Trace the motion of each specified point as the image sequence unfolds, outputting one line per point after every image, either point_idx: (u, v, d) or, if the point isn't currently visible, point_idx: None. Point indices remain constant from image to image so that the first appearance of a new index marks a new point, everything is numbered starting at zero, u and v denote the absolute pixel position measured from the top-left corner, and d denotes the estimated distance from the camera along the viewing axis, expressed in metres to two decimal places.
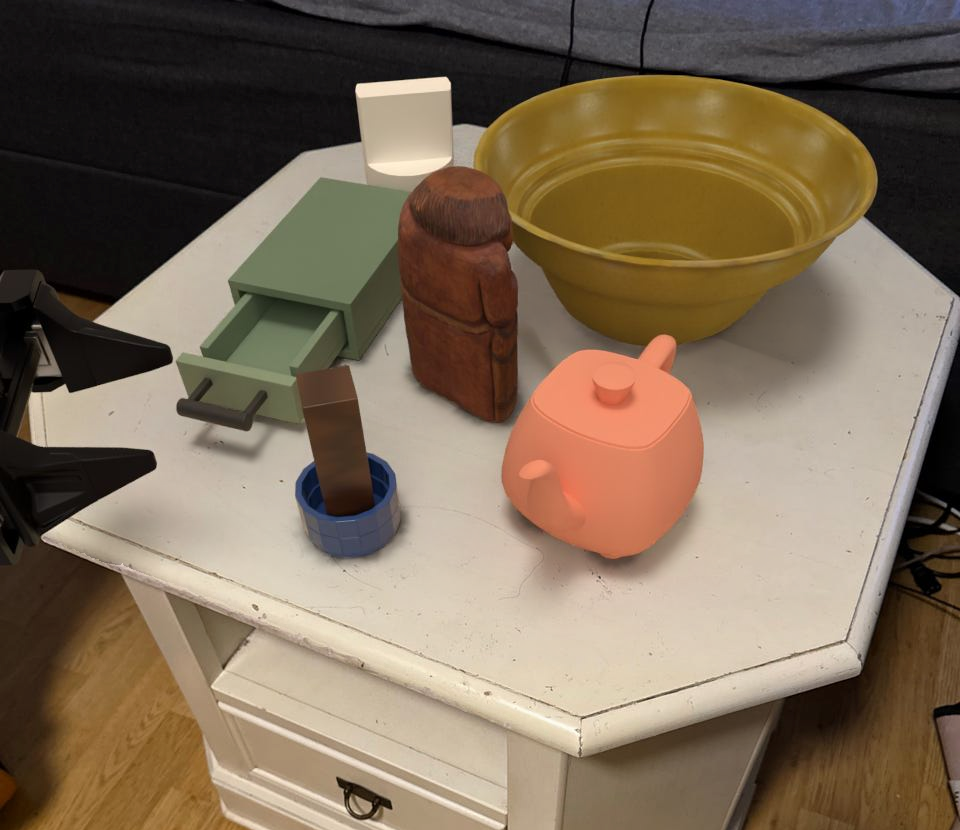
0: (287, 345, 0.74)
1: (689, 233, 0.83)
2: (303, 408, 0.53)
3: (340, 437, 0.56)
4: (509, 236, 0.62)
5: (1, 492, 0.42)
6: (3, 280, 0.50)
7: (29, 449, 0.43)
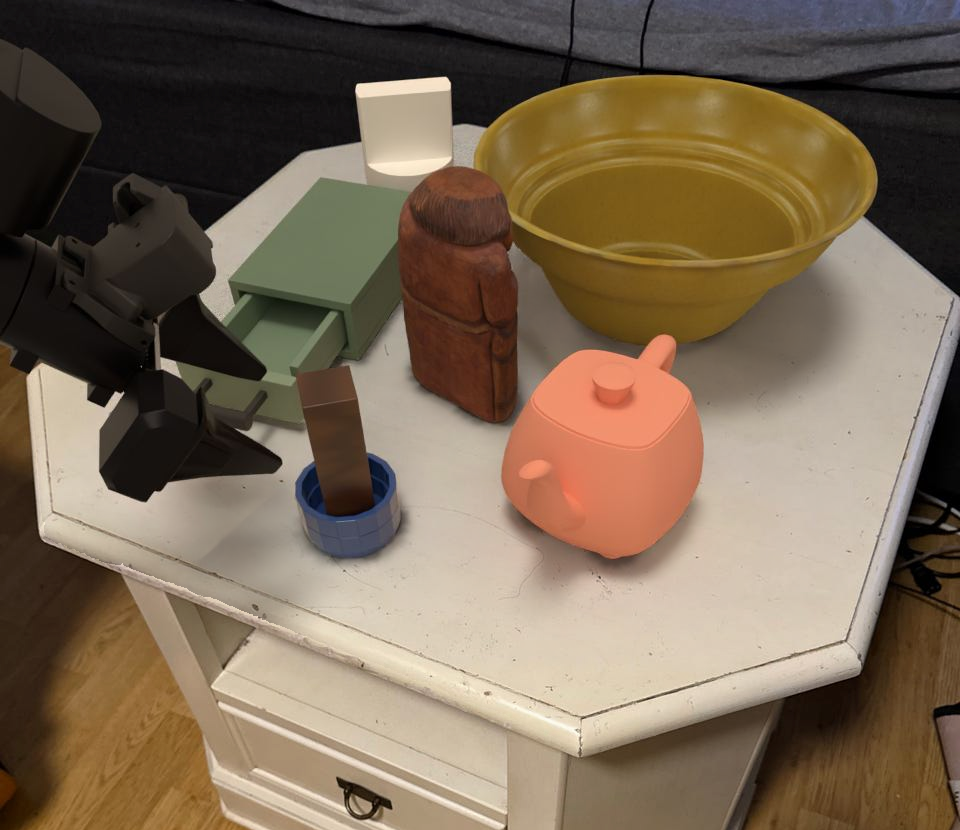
0: (287, 345, 0.74)
1: (689, 233, 0.83)
2: (303, 408, 0.53)
3: (340, 437, 0.56)
4: (509, 236, 0.62)
5: (194, 444, 0.46)
6: None
7: (212, 416, 0.48)
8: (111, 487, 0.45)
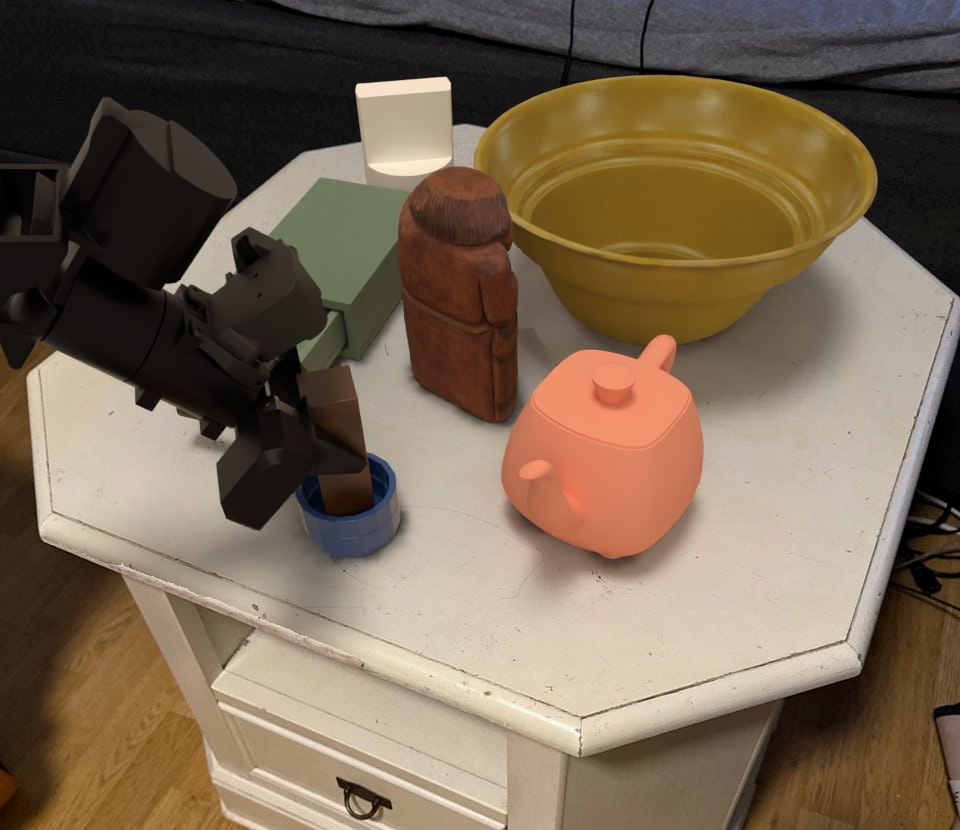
0: None
1: (689, 233, 0.83)
2: None
3: (339, 437, 0.56)
4: (509, 236, 0.62)
5: None
6: None
7: (312, 421, 0.53)
8: (230, 517, 0.49)
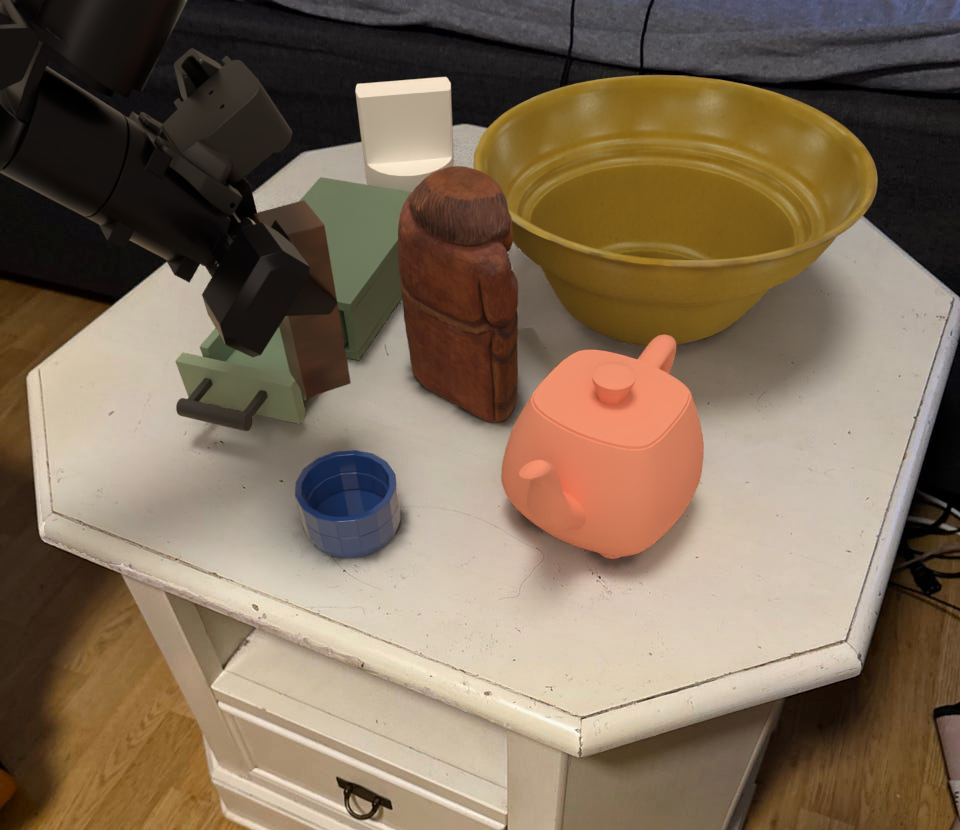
0: None
1: (689, 233, 0.83)
2: None
3: (309, 273, 0.55)
4: (509, 236, 0.62)
5: None
6: None
7: None
8: (231, 341, 0.48)
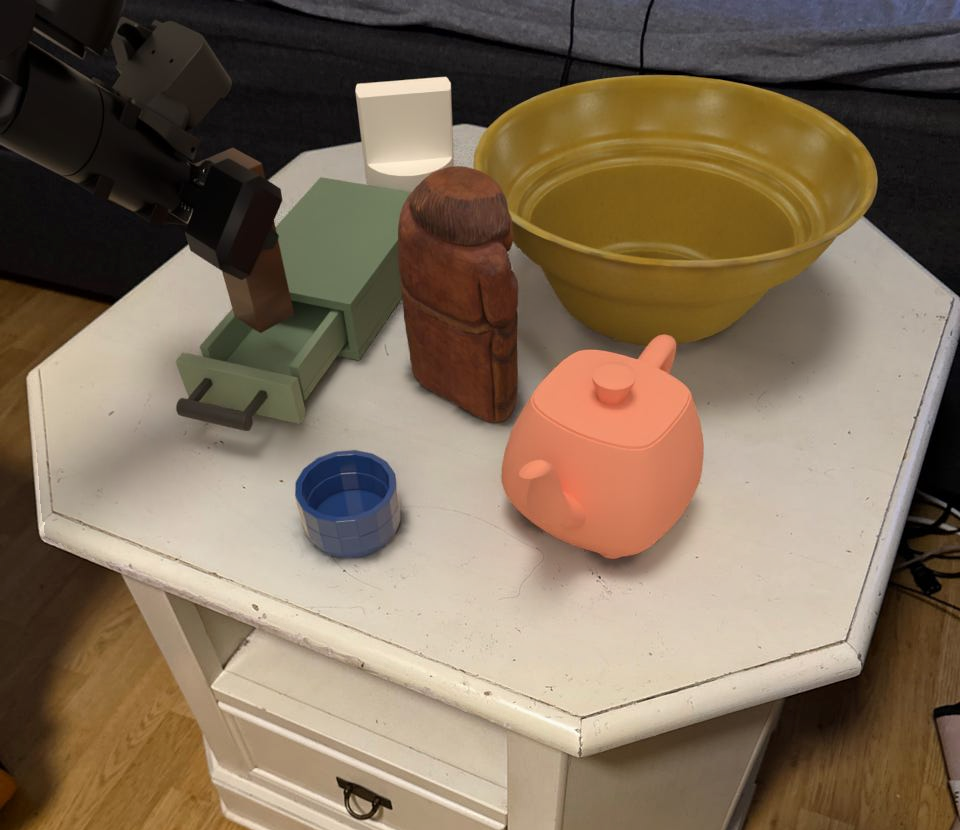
0: (287, 345, 0.74)
1: (689, 233, 0.83)
2: None
3: None
4: (509, 236, 0.62)
5: None
6: None
7: None
8: (225, 264, 0.54)
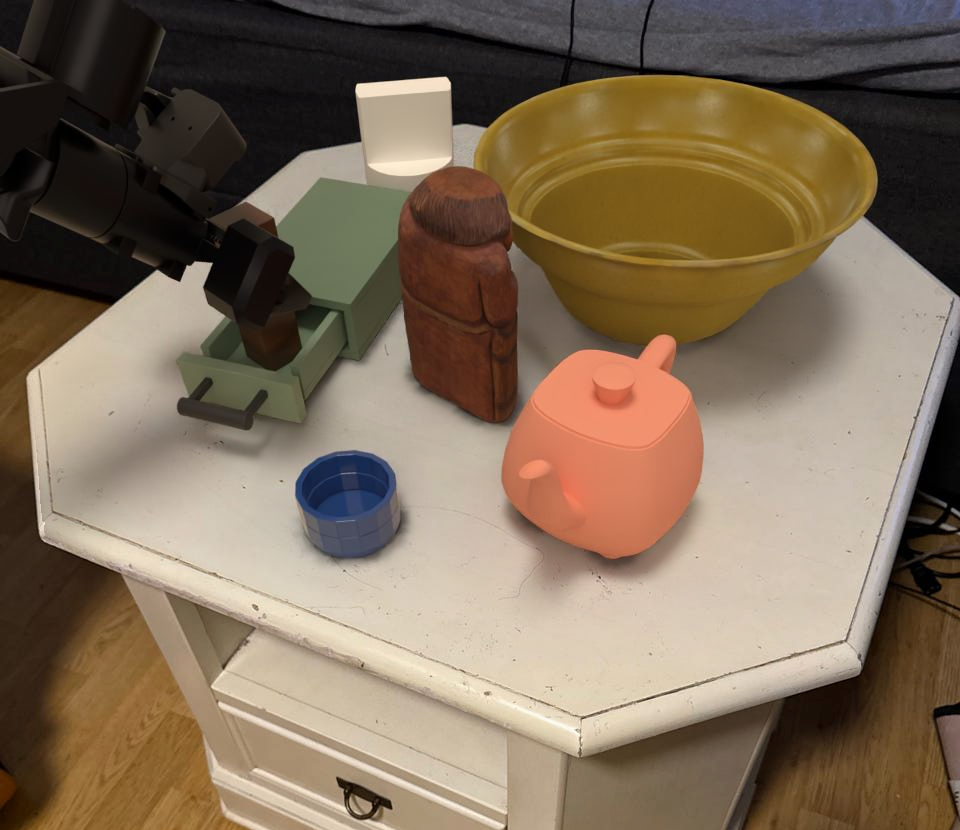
0: None
1: (689, 233, 0.83)
2: None
3: None
4: (509, 236, 0.62)
5: None
6: None
7: None
8: (241, 319, 0.58)
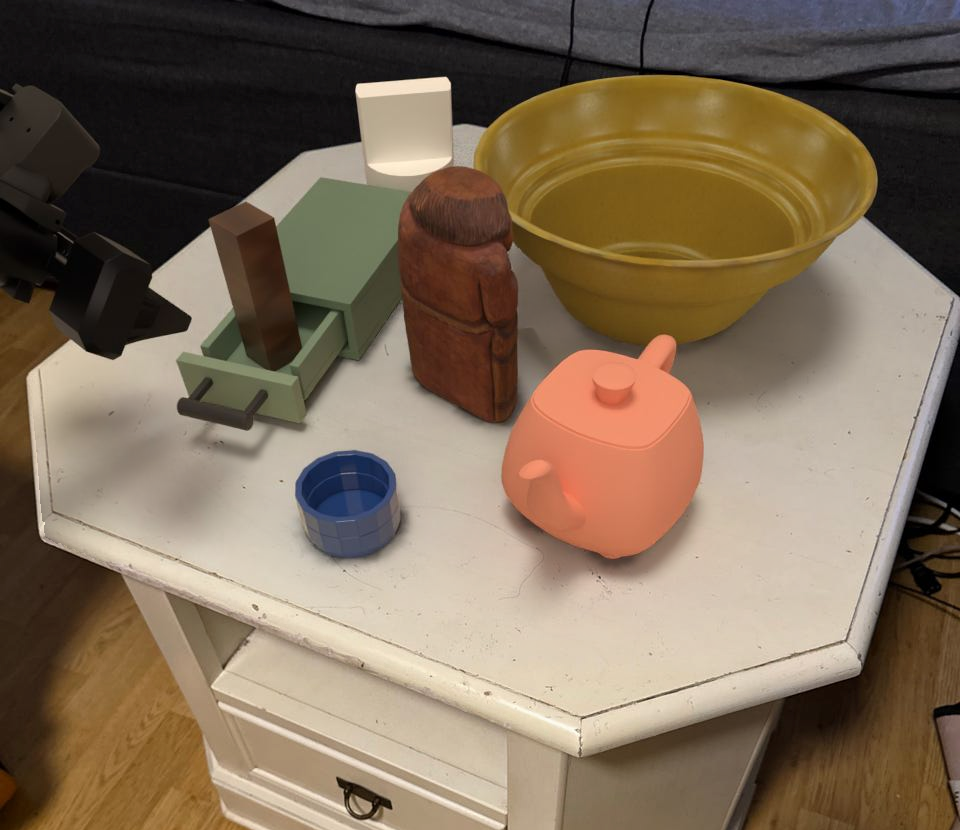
0: None
1: (689, 233, 0.83)
2: (237, 236, 0.62)
3: (266, 261, 0.65)
4: (509, 236, 0.62)
5: None
6: None
7: None
8: (91, 346, 0.51)
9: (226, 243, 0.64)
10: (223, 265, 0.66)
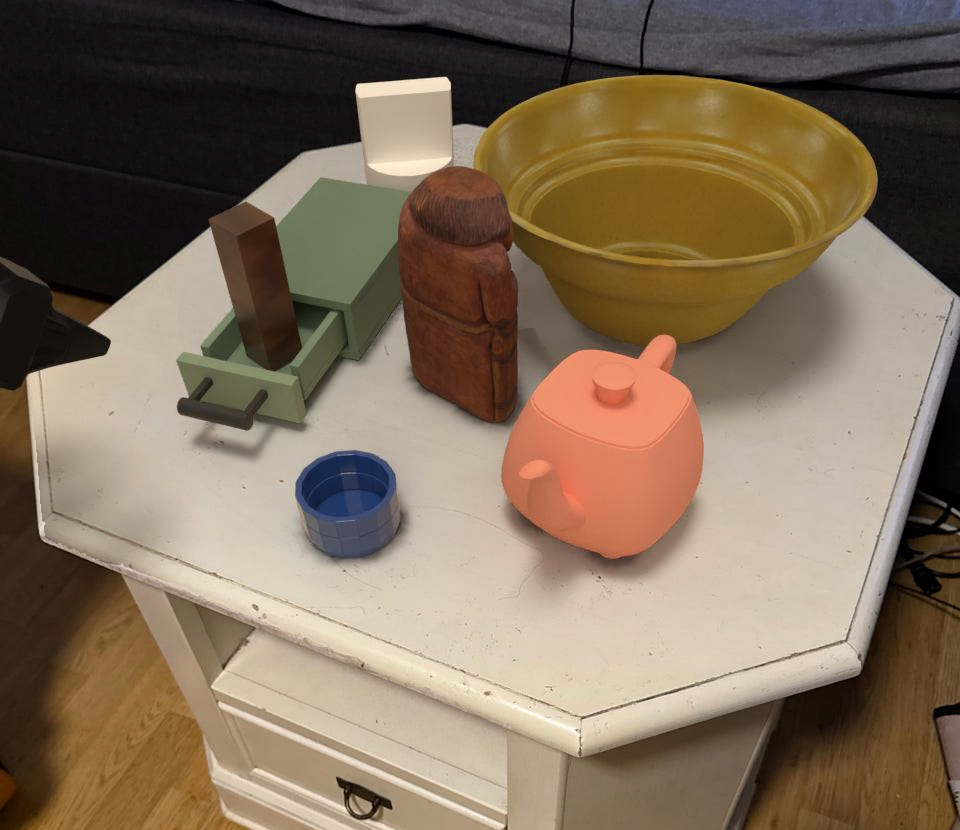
0: None
1: (689, 233, 0.83)
2: (237, 236, 0.62)
3: (266, 261, 0.65)
4: (509, 236, 0.62)
5: (45, 315, 0.48)
6: None
7: None
8: None
9: (226, 243, 0.64)
10: (223, 265, 0.66)
